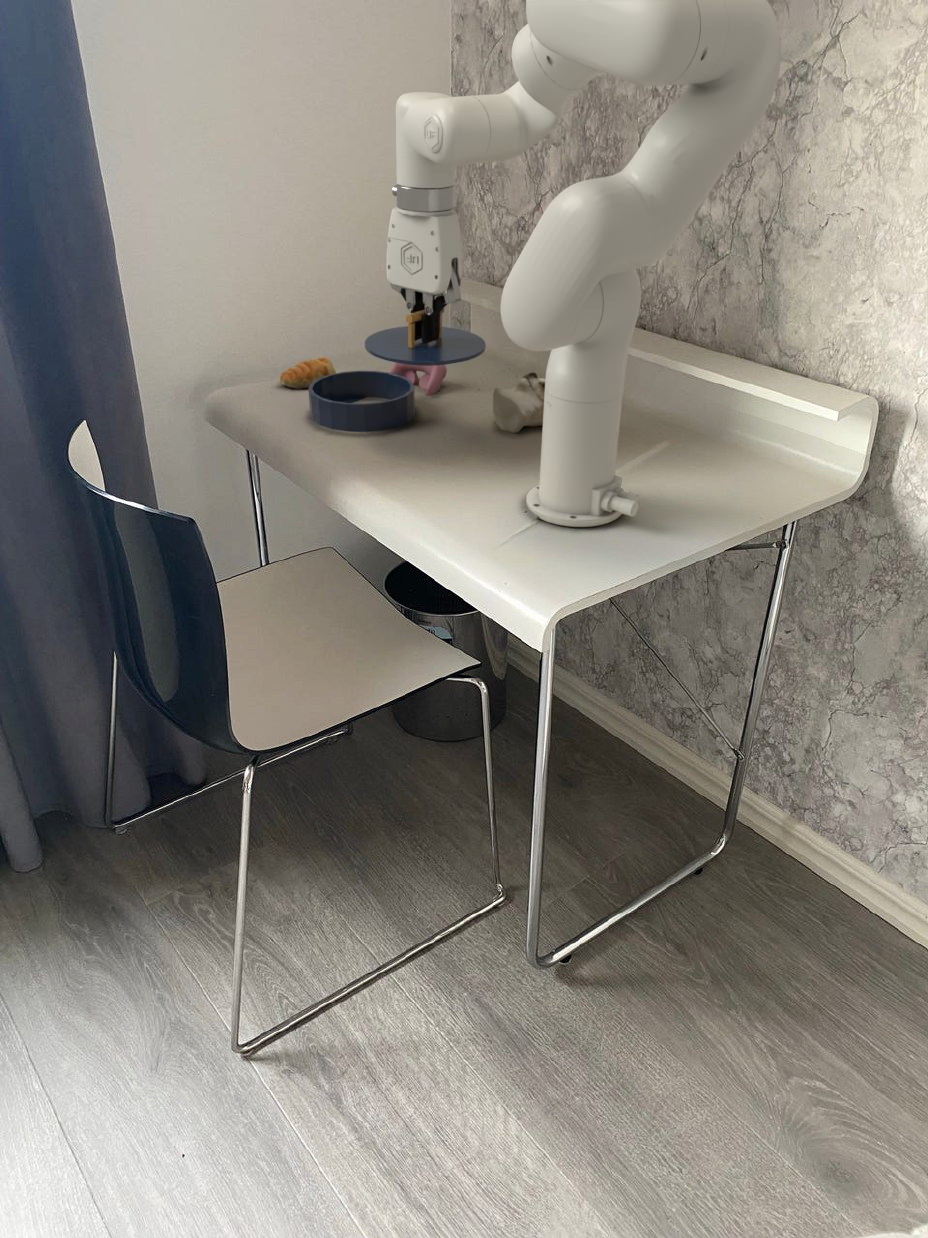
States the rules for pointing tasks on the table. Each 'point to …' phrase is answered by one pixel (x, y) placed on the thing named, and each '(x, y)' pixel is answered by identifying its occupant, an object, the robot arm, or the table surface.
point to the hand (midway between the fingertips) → (425, 338)
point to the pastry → (307, 373)
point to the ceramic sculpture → (520, 404)
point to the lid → (424, 345)
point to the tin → (342, 389)
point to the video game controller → (427, 381)
